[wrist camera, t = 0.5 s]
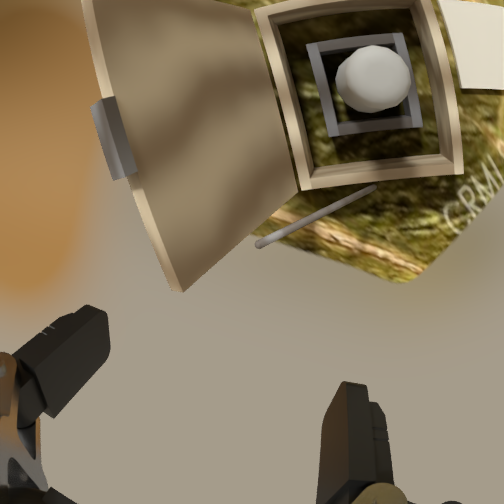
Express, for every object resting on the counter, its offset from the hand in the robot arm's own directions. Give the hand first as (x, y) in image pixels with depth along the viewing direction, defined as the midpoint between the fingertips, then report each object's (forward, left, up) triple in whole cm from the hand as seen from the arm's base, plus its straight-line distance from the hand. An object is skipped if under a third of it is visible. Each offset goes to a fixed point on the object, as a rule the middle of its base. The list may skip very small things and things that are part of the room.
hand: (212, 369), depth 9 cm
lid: (-8, -3, -14) cm, 16 cm away
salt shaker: (-8, +8, -27) cm, 29 cm away
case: (-7, +6, -27) cm, 28 cm away
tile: (-12, +23, -27) cm, 37 cm away
